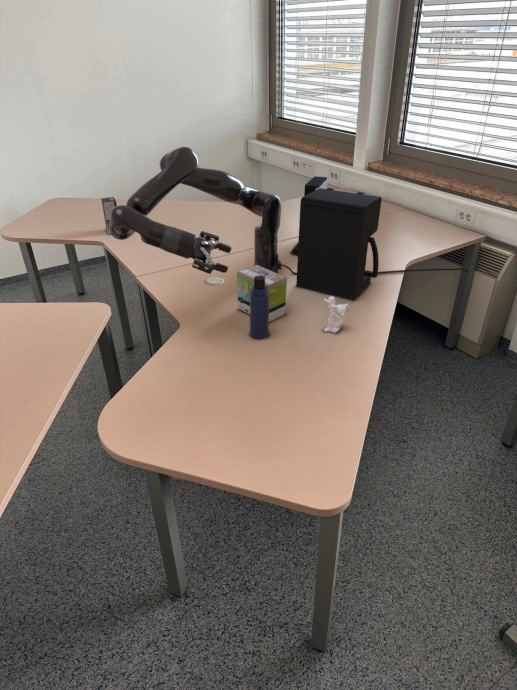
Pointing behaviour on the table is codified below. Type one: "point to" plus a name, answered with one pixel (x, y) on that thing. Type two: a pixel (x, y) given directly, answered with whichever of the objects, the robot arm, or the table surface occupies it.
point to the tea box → (274, 287)
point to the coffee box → (108, 209)
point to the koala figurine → (335, 315)
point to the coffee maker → (337, 241)
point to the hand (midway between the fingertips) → (229, 259)
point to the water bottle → (259, 309)
